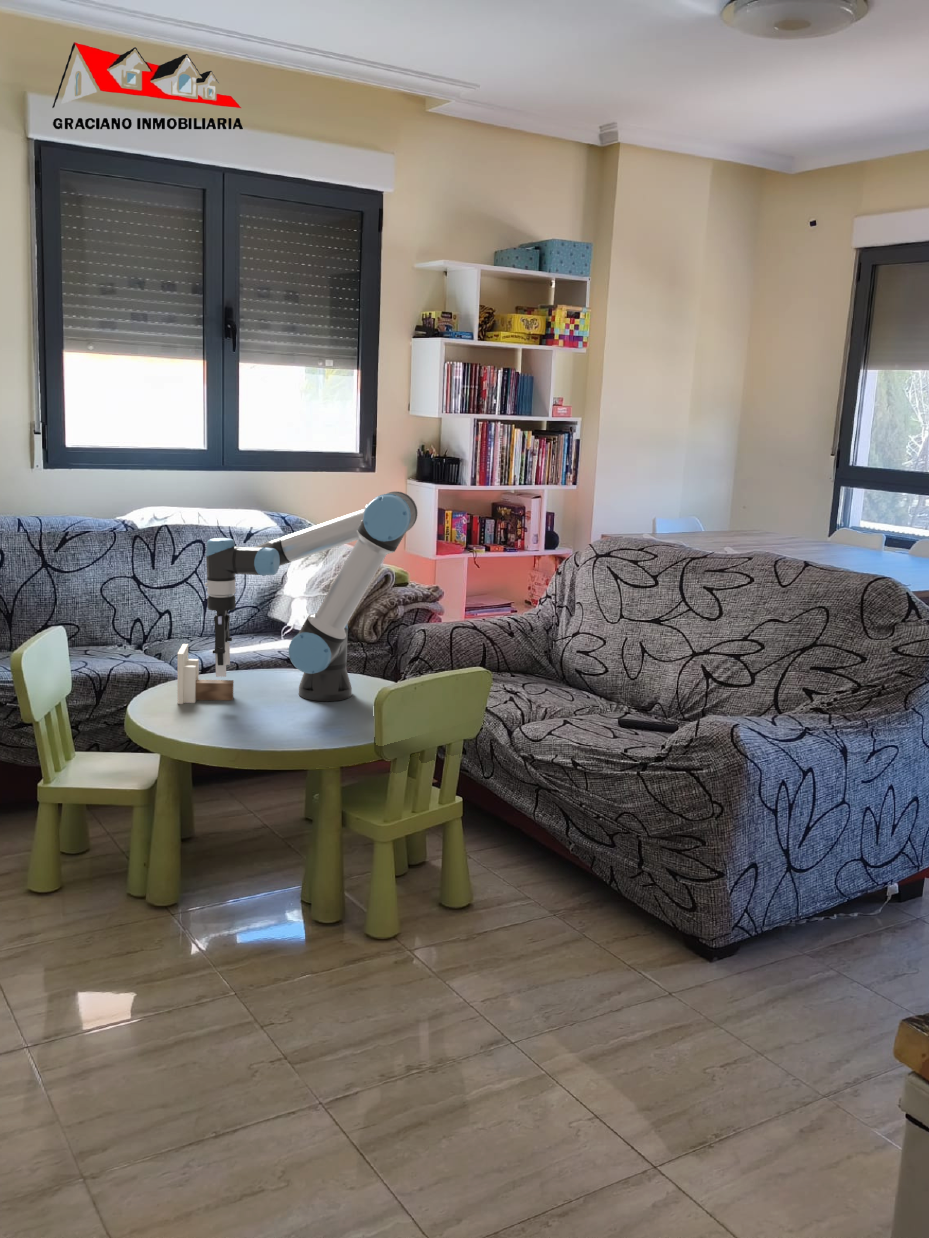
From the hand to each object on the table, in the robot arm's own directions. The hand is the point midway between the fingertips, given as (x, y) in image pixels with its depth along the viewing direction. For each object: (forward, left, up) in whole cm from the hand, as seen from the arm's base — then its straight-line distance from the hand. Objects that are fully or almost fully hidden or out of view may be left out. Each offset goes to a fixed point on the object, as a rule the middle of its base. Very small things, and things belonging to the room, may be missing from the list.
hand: (223, 670), depth 302 cm
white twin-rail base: (+9, 0, -8) cm, 12 cm away
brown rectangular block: (+3, 0, -8) cm, 9 cm away
